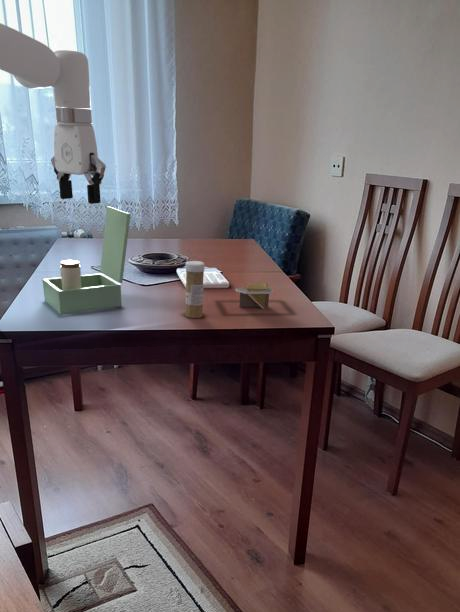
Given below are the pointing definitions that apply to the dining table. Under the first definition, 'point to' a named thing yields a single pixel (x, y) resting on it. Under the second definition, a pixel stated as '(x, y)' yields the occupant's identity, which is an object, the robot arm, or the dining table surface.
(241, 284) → the dining table surface
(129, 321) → the dining table surface
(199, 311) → the sprinkles bottle
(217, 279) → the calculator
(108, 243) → the chest lid
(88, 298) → the chest
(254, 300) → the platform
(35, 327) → the dining table surface
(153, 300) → the dining table surface
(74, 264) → the jar
